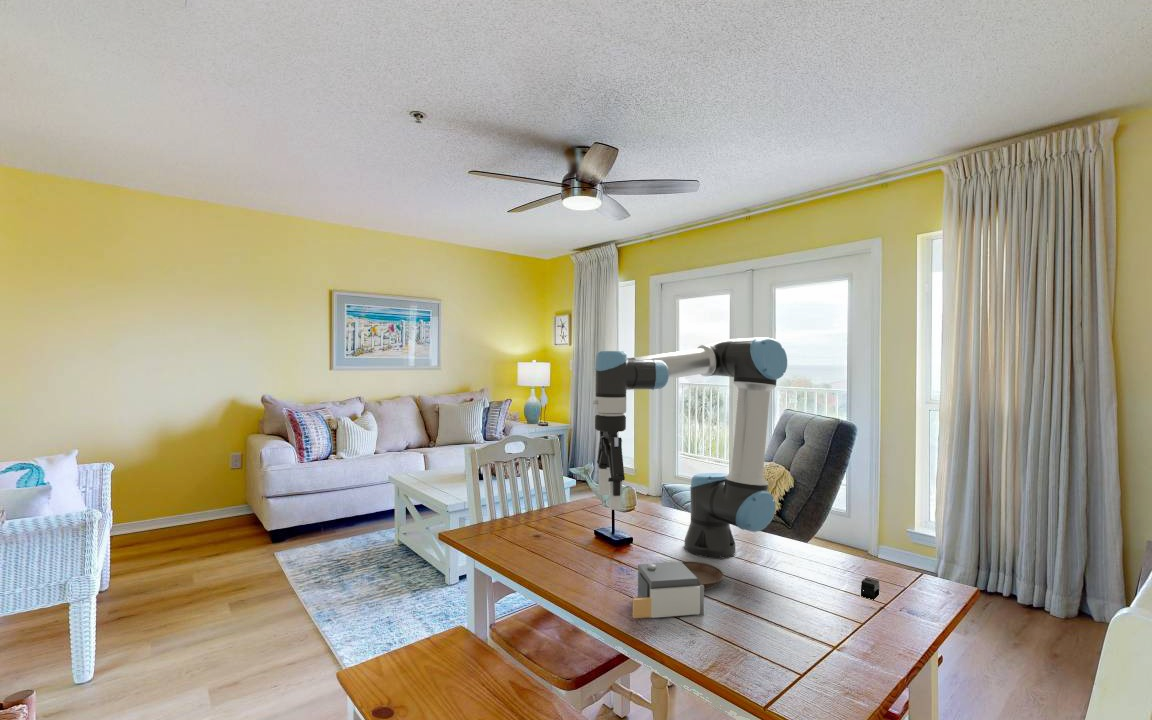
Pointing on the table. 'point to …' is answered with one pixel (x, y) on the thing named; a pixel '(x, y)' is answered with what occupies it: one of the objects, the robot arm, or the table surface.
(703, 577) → the saucer
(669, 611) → the light grey flat piece
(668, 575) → the grey box with knob
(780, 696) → the table surface
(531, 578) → the table surface
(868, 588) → the black block
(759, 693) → the table surface
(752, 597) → the table surface
